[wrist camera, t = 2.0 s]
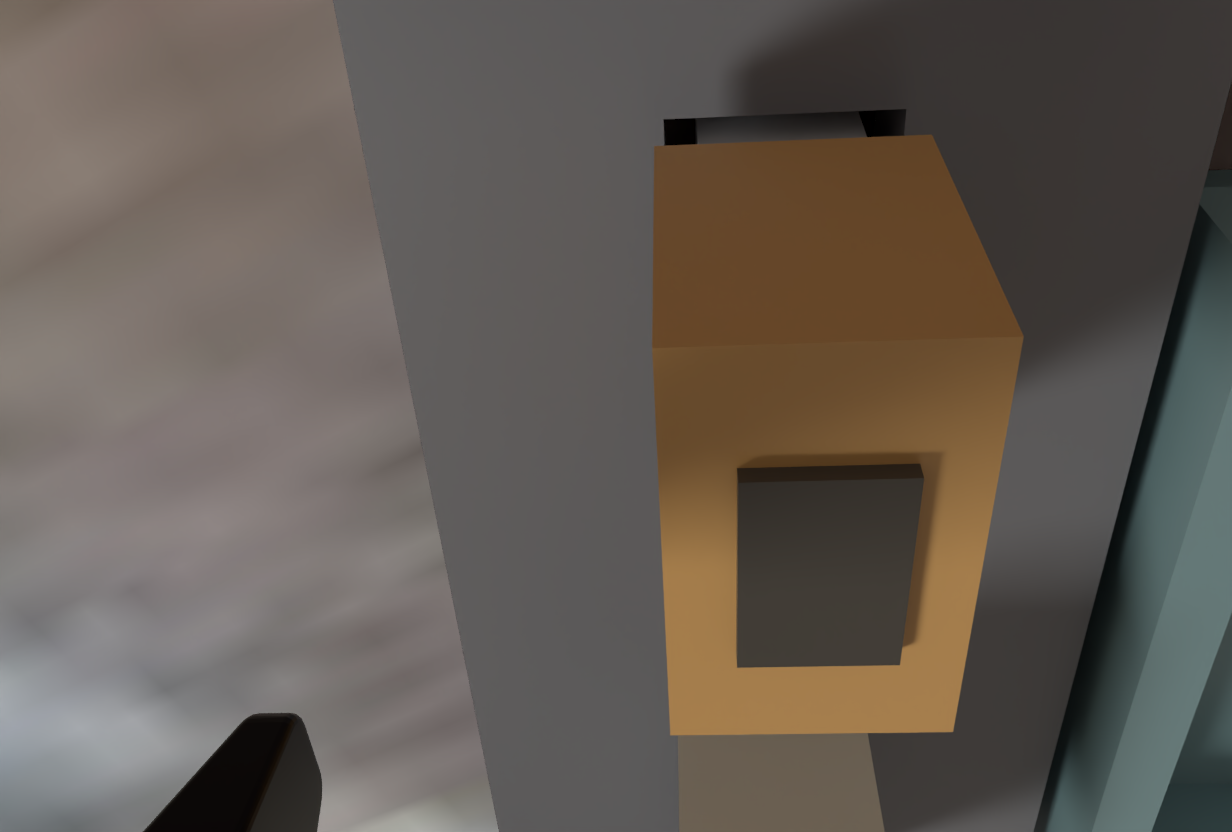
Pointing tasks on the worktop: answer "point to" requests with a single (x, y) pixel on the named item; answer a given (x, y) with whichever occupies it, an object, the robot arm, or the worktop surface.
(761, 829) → the block
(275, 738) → the robot arm
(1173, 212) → the block
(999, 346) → the block
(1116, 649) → the parts tray
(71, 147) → the worktop surface
